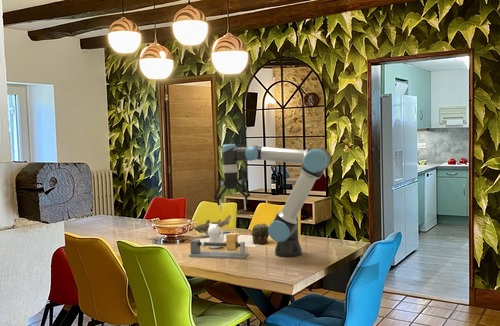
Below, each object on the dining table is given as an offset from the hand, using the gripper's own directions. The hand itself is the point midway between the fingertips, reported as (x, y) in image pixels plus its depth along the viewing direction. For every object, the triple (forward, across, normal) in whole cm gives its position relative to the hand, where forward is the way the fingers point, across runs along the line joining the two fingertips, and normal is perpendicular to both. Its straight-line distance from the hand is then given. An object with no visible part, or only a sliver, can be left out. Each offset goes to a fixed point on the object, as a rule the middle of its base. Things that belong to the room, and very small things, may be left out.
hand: (233, 210), depth 279 cm
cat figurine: (+26, +12, -25) cm, 38 cm away
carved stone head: (+26, -16, -33) cm, 45 cm away
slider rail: (+26, +10, -4) cm, 28 cm away
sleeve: (+22, +2, -2) cm, 22 cm away
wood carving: (+25, +15, -64) cm, 70 cm away
